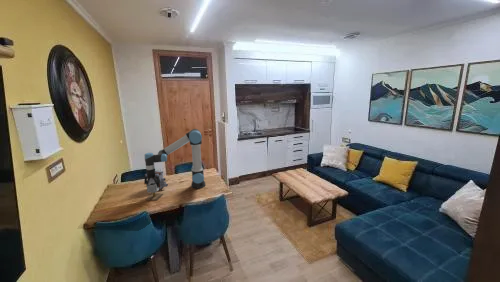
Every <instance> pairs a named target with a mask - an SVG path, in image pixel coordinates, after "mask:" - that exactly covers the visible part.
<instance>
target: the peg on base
mask: <svg viewBox="0 0 500 282" xmlns="http://www.w3.org/2000/svg"><path fill="white" fill-rule="evenodd" d="M163 195H164V194H163V193H156V192H155V193H150V194H149V195H148V196H147V197H146V198H145V199H144V200H145V201H159V199H161V197H163Z"/></svg>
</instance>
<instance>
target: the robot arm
mask: <svg viewBox="0 0 500 282" xmlns="http://www.w3.org/2000/svg"><path fill="white" fill-rule="evenodd" d="M188 143H189V145H190V146H191V155H192V156H191V157H192V166H191V169H190V170H191V180H192V181H191V185H190V186H191V188H192V189H194V190H195V189H196V190H198V189H203V188H205V186H206V181H205V175H204V168H203V166H202V165H203V164H202V150H201V149H202V148H201V145H202V143H203V136H202V134H201V131H200V130H199V129H197V128H192V129H191V130H189V131H188V132H187V133H185V134H184V135H183V136H182V137H180V138H178V140H176V141H174V142H172V143H170V144H169V145H168V146H166V147H164V148H163V149H160V150H159V151H158V152H157V154H154V153H153V152H147V153H145V154H144V161H145V163H144V164H145V169H146V173H145V174H143V176H144V183H143V184H144V185H146V186H147V185H148V184H149V181H150V178H153V179H154V181H155V183H156V190H157V192H158V191H160V190H159V188H158V187H159V184H160V183H161V182H160V179H159V174H156V173H155V171H156V168H155V163H164V162H167V161H168V156H169V155H170V154H172V153H173V152H175V151H176V150H178V149H180V148H181V147H183V146H185V145H186V144H188ZM155 175H156V177H155ZM156 178H157V179H156Z"/></svg>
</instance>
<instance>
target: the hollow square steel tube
mask: <svg viewBox="0 0 500 282" xmlns="http://www.w3.org/2000/svg"><path fill="white" fill-rule="evenodd" d="M158 188H159V187H158ZM146 191H147V193H150V194H152V193H155V194H156V193H157V192H158V191H157V190H156V183H155V182H151V183H149V184H148V185H146Z"/></svg>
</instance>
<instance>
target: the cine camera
mask: <svg viewBox="0 0 500 282" xmlns="http://www.w3.org/2000/svg"><path fill="white" fill-rule="evenodd" d="M155 173H156V174H159V179H160V182H161V183H160V184H159V190H158V191H161V190H163V189H164V188H167V187H168V184H169V183H167V181H166V177H164V171H163V170H155ZM155 177H156V175H155ZM156 179H157V178H156ZM151 182H155V181H154V179H153V178H150V181H149V183H151Z"/></svg>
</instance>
